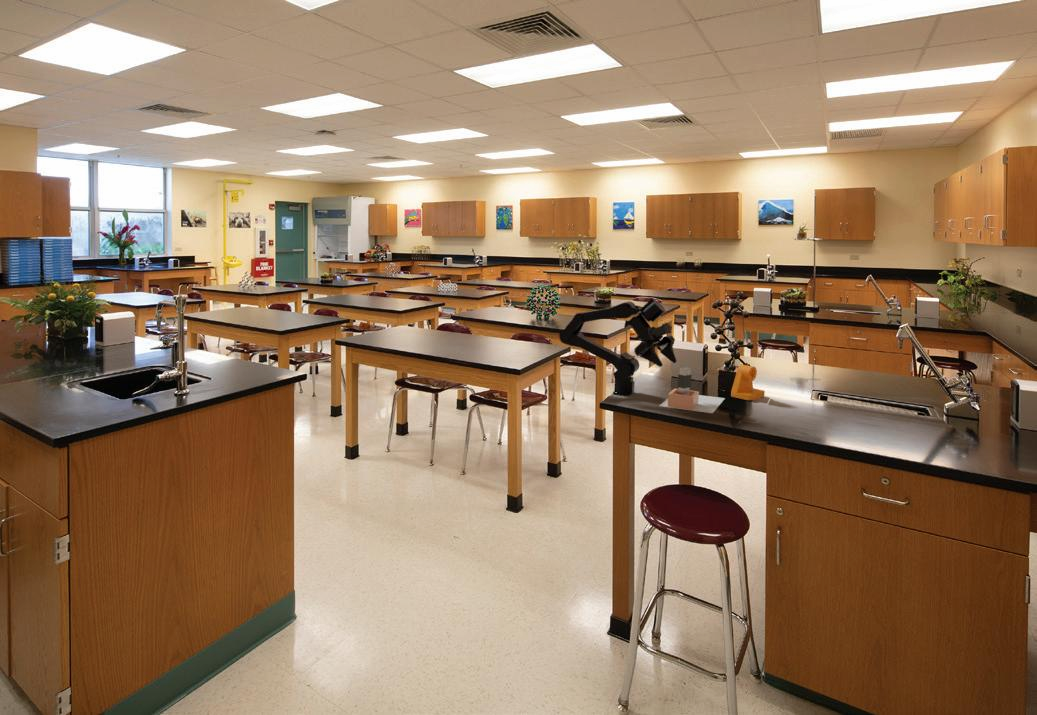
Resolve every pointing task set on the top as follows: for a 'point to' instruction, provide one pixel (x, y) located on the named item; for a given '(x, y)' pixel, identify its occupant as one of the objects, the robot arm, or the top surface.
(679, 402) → the holder
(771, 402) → the top surface
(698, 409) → the bench mat
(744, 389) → the bracket
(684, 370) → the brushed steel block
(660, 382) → the top surface
